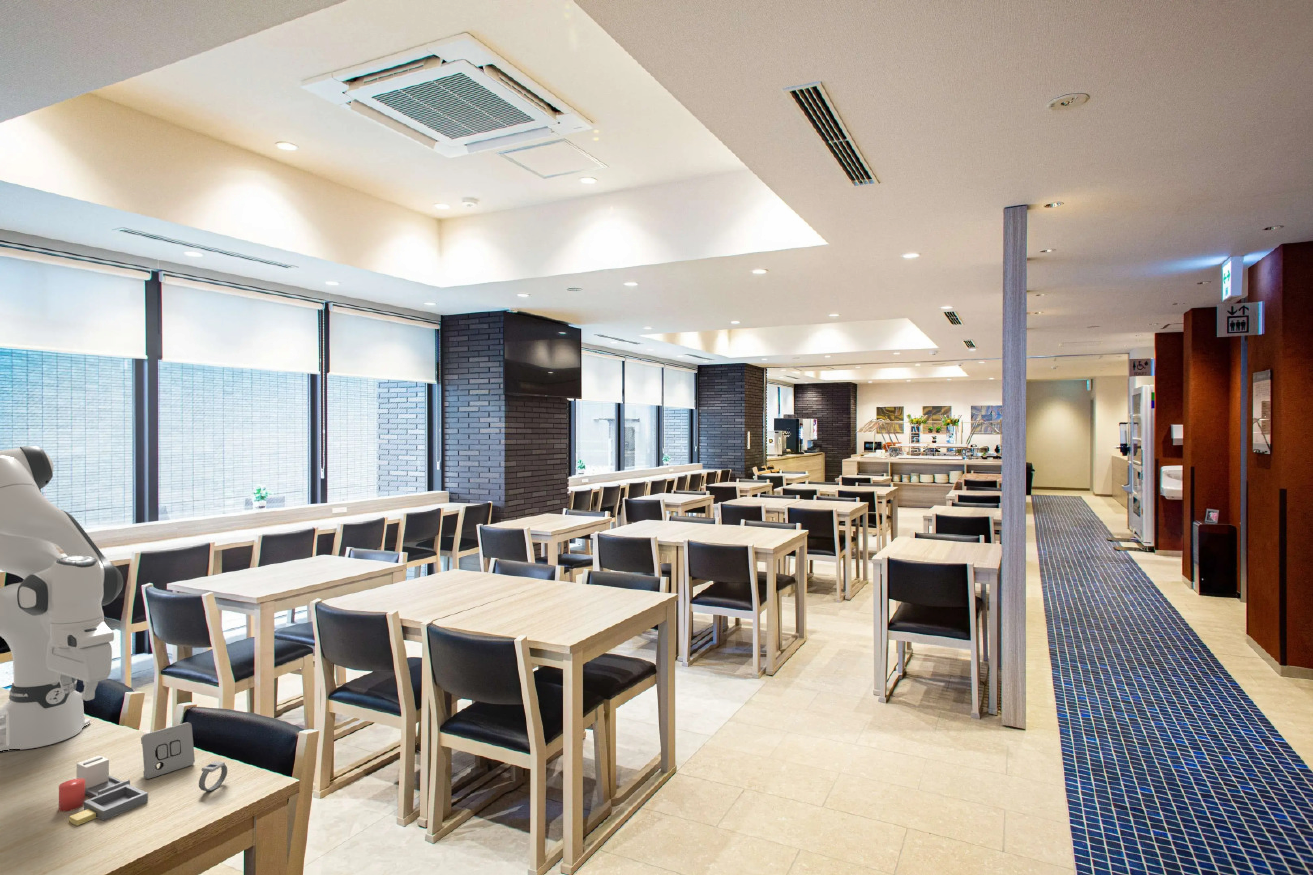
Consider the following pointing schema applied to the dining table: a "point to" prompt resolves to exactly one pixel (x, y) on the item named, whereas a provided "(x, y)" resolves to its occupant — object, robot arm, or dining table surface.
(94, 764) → the white slotted block
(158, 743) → the electrical switch
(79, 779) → the cap
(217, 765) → the wristwatch
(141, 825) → the dining table surface
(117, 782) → the rail
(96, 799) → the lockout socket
